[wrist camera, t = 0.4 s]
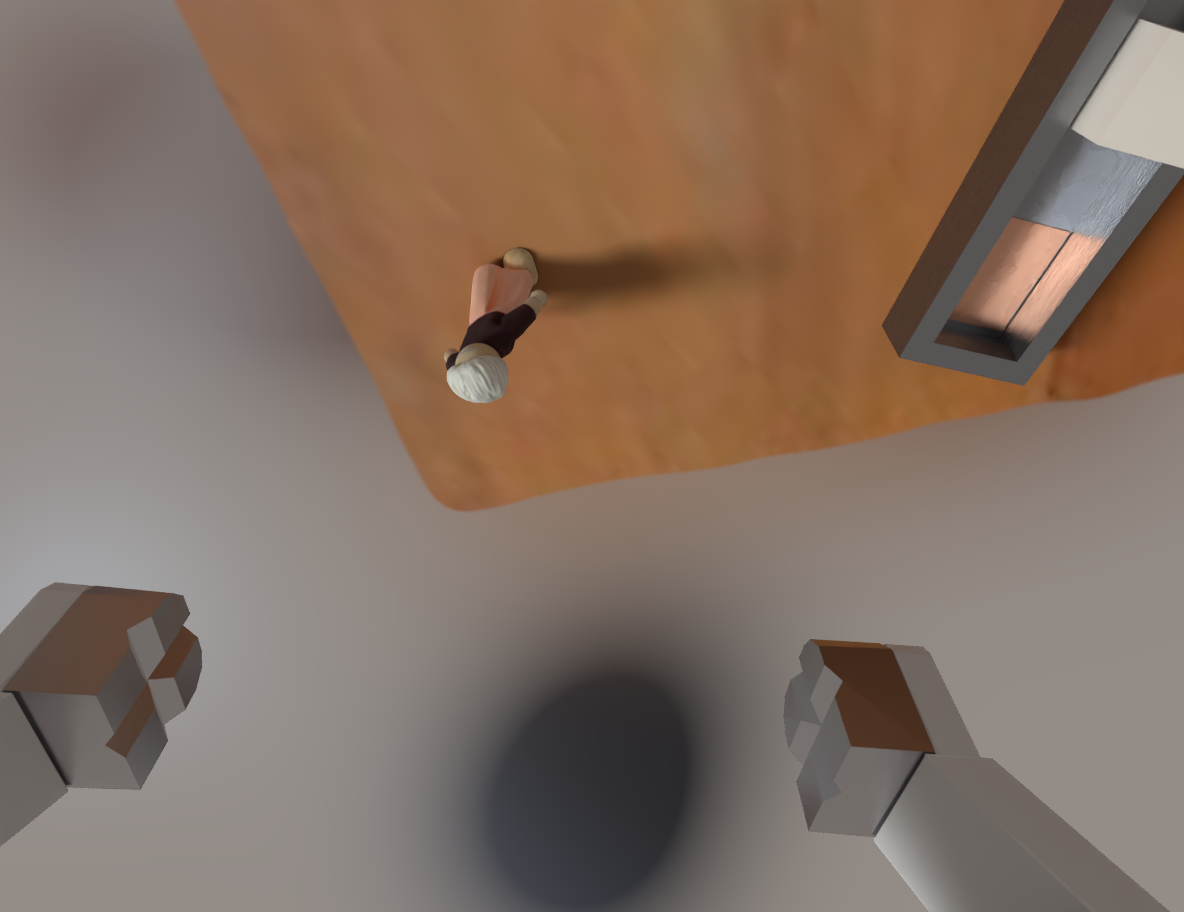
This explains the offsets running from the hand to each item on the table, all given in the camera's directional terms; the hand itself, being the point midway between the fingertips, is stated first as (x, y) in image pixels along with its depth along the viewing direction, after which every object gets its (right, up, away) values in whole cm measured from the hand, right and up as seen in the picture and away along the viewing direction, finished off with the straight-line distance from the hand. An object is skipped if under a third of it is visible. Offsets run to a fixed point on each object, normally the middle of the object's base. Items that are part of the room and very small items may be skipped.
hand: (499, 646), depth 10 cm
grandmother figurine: (-5, +14, +38) cm, 41 cm away
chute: (+28, +19, +32) cm, 47 cm away
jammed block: (+29, +22, +28) cm, 46 cm away
